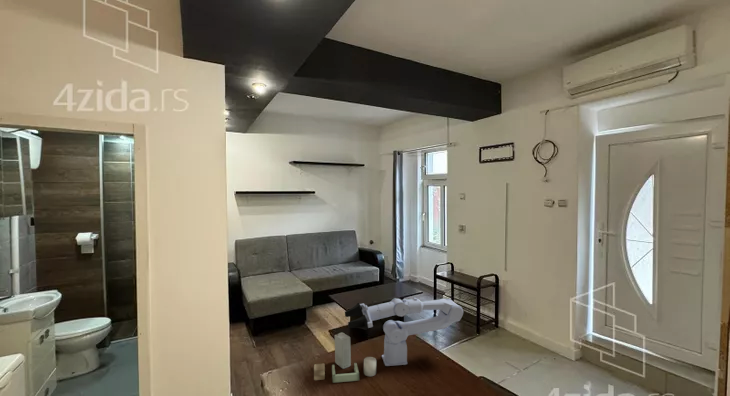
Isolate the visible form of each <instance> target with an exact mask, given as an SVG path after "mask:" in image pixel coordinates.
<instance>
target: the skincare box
mask: <svg viewBox="0 0 730 396" xmlns="http://www.w3.org/2000/svg"><path fill="white" fill-rule="evenodd" d="M351 350H352V349H351V337H350V336H349V335H347V334H345V333H344V332H339V333H337V334H334V359H335V360H334V363H335V364H336V365H338V366H339V367H340V368H341V369H342V370H344V369H348V368H349V367H351V365H352V364H351V363H352V358H351V357H352V355H351Z"/></svg>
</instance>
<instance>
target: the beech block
mask: <svg viewBox="0 0 730 396" xmlns="http://www.w3.org/2000/svg"><path fill="white" fill-rule="evenodd" d="M313 365H314V366H313V380H314V381H320V380H321V381H322V380H325V377H326V375H325V374H326V373H325V371H326V367H325V366H326V365H325V363H316V364H313Z"/></svg>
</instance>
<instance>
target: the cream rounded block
mask: <svg viewBox="0 0 730 396" xmlns="http://www.w3.org/2000/svg"><path fill="white" fill-rule="evenodd" d="M376 374H377V358H375V357H373V356H366V357H365V358H364V359H363V375H364V376H367V377H373V376H376Z"/></svg>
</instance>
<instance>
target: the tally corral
mask: <svg viewBox="0 0 730 396" xmlns="http://www.w3.org/2000/svg"><path fill="white" fill-rule="evenodd" d="M353 366H354V367H353V371H354V372H349V373H337V374H336V369H335V367H336V366H335V364H332V365H331V375H332V377H331V380H332V383H333V384H334V383H336V384H337V383H343V382H344V383H345V382H356V381H358V382H359V381H360V372H359V367H358V364H357V362H354V364H353Z"/></svg>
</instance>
